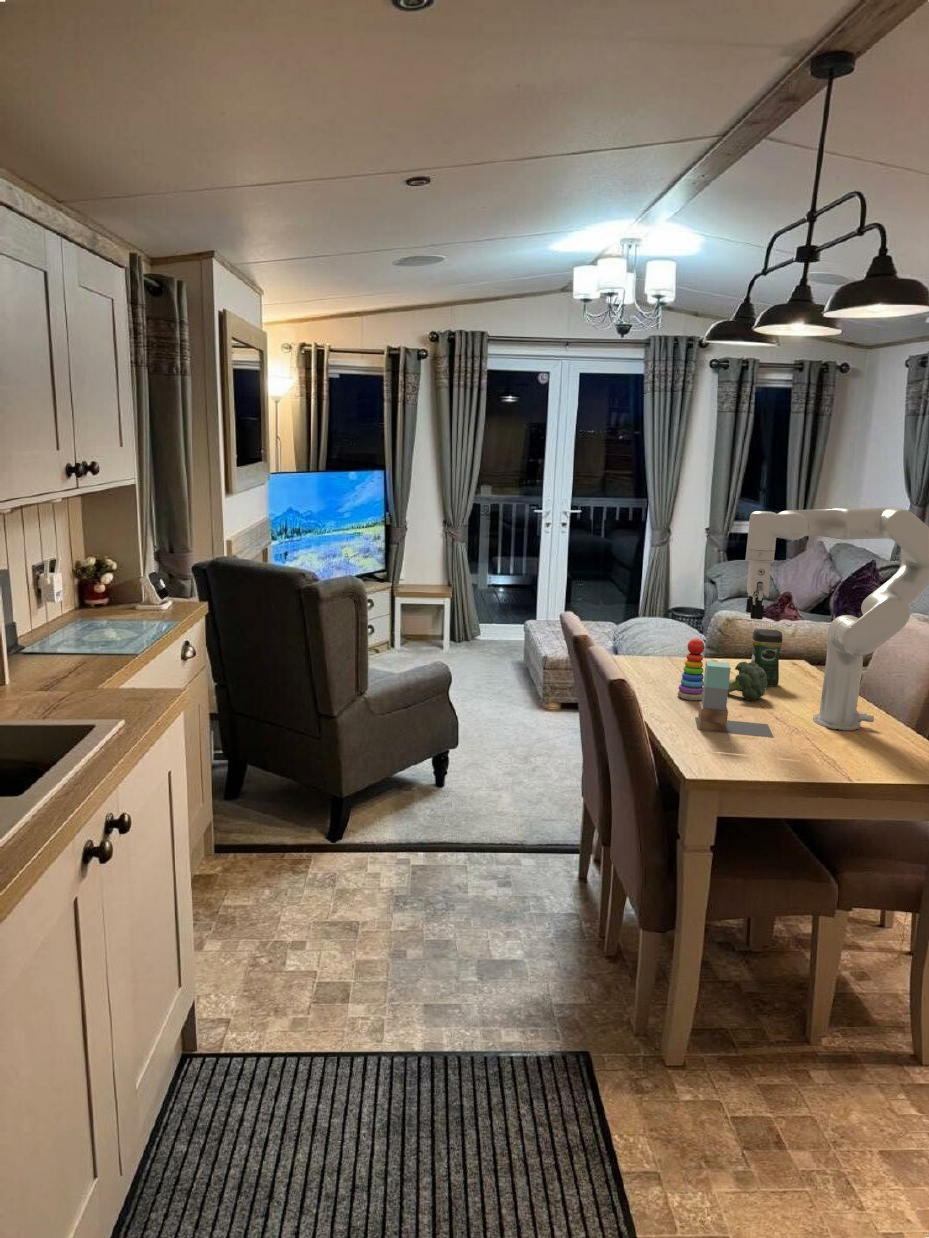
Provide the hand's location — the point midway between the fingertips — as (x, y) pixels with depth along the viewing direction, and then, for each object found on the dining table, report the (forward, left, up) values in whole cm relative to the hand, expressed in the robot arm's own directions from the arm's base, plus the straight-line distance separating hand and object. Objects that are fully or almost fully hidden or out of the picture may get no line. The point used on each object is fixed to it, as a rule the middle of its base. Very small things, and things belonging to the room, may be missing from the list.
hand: (754, 615), depth 244 cm
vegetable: (-3, -22, -30) cm, 38 cm away
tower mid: (+10, +14, -24) cm, 29 cm away
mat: (+4, +12, -30) cm, 33 cm away
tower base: (+10, +14, -30) cm, 34 cm away
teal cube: (+10, +14, -18) cm, 25 cm away
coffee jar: (-11, -42, -30) cm, 53 cm away
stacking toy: (+14, -16, -30) cm, 37 cm away
